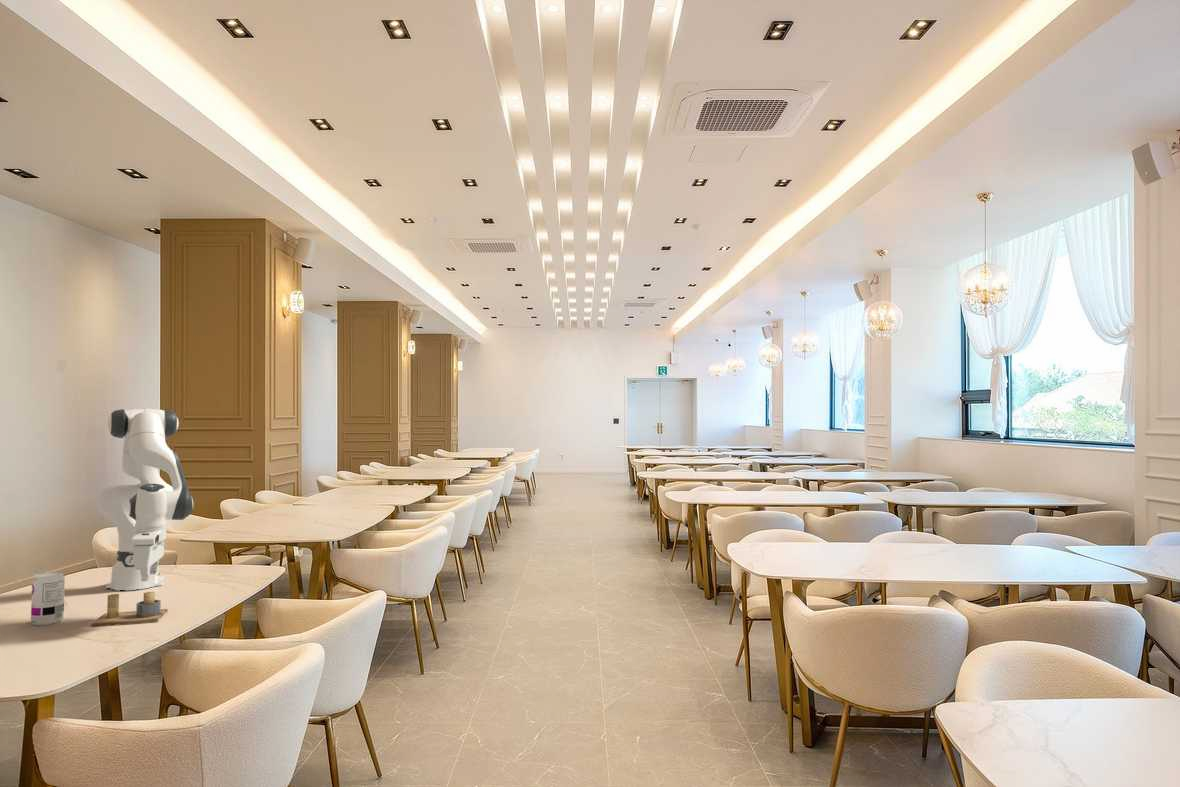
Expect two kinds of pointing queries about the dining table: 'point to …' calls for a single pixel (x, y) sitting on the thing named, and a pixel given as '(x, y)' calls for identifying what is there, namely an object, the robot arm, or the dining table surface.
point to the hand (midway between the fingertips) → (149, 577)
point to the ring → (148, 609)
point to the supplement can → (47, 598)
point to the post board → (125, 617)
